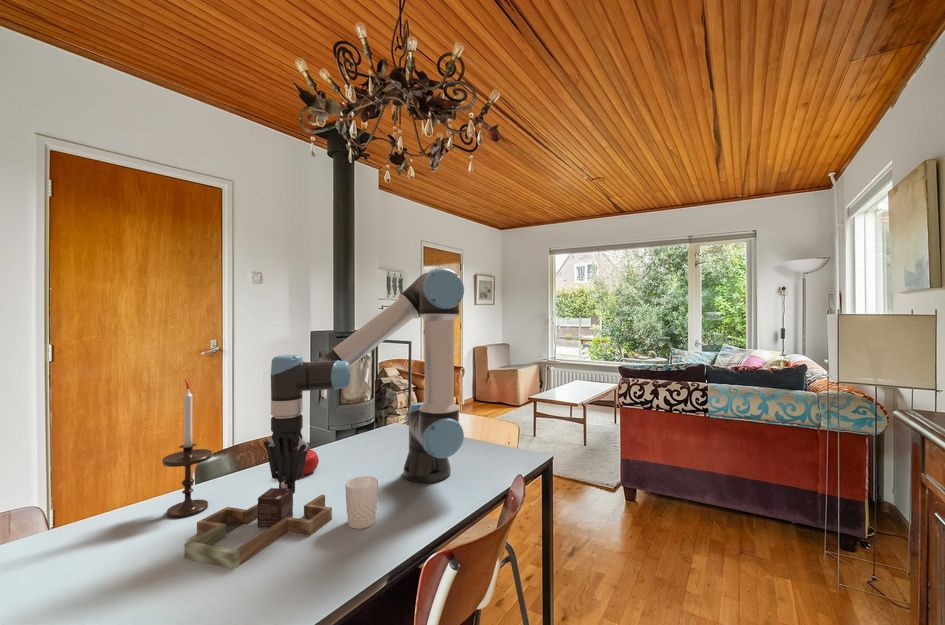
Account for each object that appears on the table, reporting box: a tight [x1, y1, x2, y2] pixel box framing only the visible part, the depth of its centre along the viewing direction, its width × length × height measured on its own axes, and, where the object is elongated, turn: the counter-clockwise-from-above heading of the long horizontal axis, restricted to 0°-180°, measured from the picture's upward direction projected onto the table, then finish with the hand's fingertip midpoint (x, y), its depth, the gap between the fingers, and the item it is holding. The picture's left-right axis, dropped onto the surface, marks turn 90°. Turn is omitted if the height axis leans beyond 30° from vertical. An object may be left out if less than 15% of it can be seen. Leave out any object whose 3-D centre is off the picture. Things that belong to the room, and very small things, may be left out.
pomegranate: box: [296, 447, 320, 477], centre depth 137 cm, size 10×10×9 cm
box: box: [257, 487, 294, 529], centre depth 104 cm, size 6×6×7 cm
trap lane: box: [183, 494, 333, 570], centre depth 100 cm, size 26×29×3 cm
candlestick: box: [162, 377, 213, 519], centre depth 111 cm, size 11×11×35 cm
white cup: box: [344, 475, 379, 530], centre depth 104 cm, size 8×8×10 cm
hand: (287, 506), depth 108 cm, fingers closed
